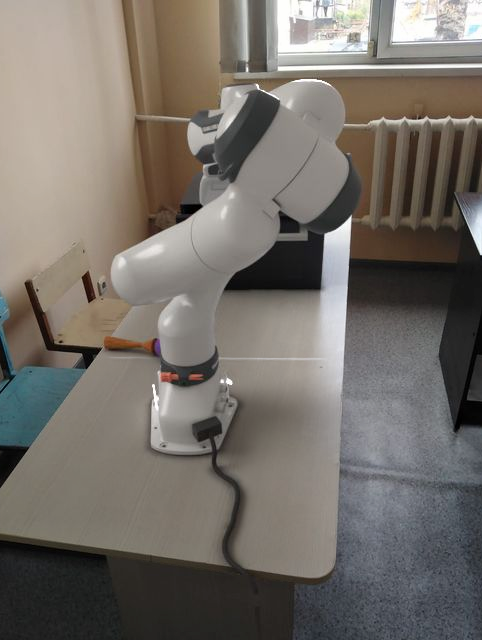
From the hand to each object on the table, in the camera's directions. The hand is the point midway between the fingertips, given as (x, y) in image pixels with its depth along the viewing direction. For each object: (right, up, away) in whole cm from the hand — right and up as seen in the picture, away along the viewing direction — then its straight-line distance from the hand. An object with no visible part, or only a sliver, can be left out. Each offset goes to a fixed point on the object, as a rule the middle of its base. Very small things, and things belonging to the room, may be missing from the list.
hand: (244, 223), depth 127 cm
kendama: (-25, -31, +9) cm, 41 cm away
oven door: (+3, -13, +33) cm, 36 cm away
